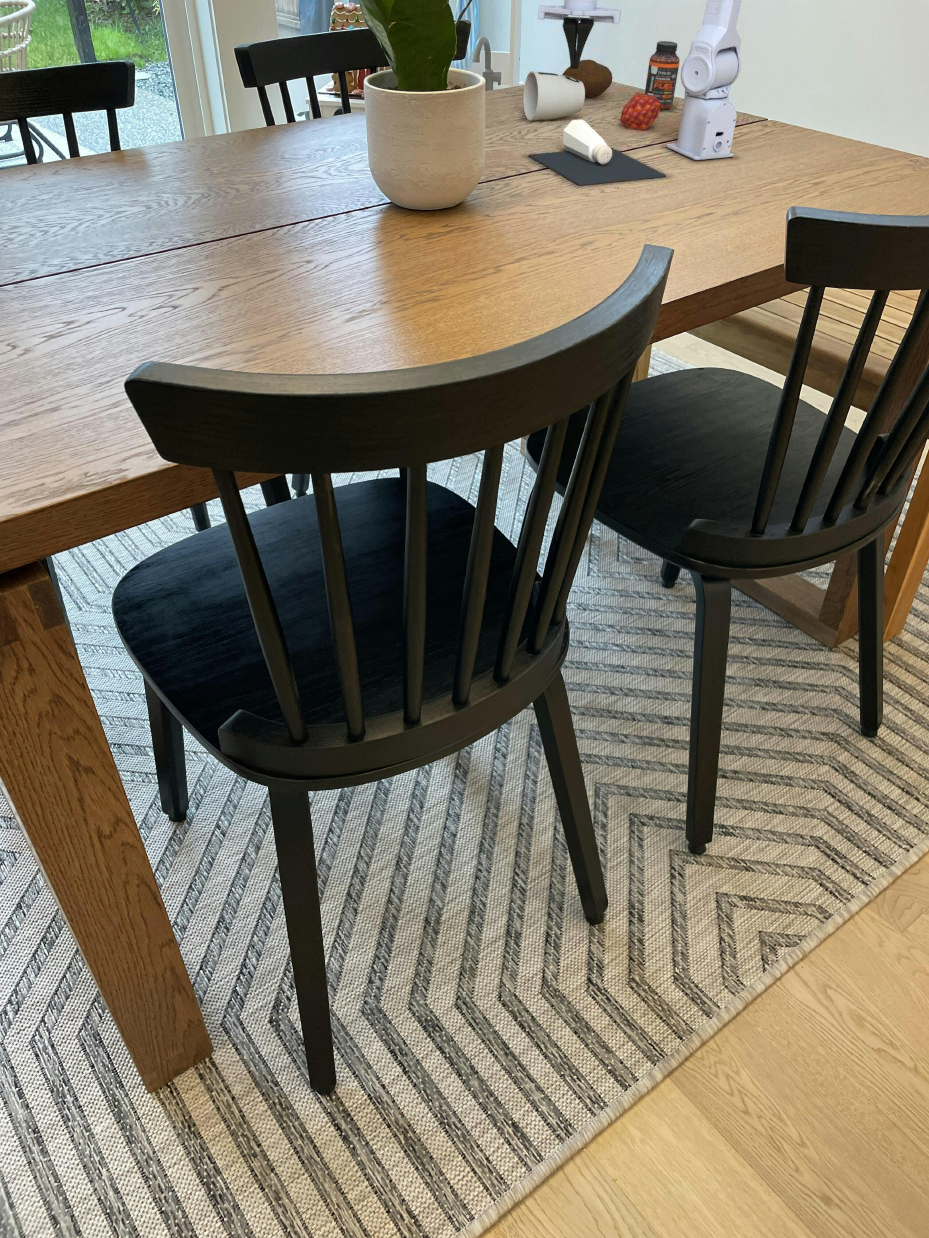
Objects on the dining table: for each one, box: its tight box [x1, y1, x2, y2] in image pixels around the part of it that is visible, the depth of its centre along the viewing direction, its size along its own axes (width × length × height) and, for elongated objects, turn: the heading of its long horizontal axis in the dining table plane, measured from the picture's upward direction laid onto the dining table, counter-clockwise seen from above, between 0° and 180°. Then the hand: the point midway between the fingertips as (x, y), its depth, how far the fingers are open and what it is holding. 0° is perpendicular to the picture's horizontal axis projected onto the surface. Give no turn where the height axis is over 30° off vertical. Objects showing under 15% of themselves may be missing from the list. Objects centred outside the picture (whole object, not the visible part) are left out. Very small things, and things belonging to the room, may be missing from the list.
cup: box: [522, 70, 586, 122], centre depth 175 cm, size 8×8×10 cm
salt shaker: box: [561, 119, 612, 164], centre depth 154 cm, size 5×5×11 cm
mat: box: [528, 146, 667, 187], centre depth 152 cm, size 18×16×1 cm
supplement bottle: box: [644, 40, 681, 111], centre depth 184 cm, size 6×6×11 cm
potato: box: [561, 59, 613, 99], centre depth 190 cm, size 7×12×7 cm, turn 117°
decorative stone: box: [619, 93, 662, 131], centre depth 172 cm, size 6×7×8 cm
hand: (574, 68), depth 169 cm, fingers closed
